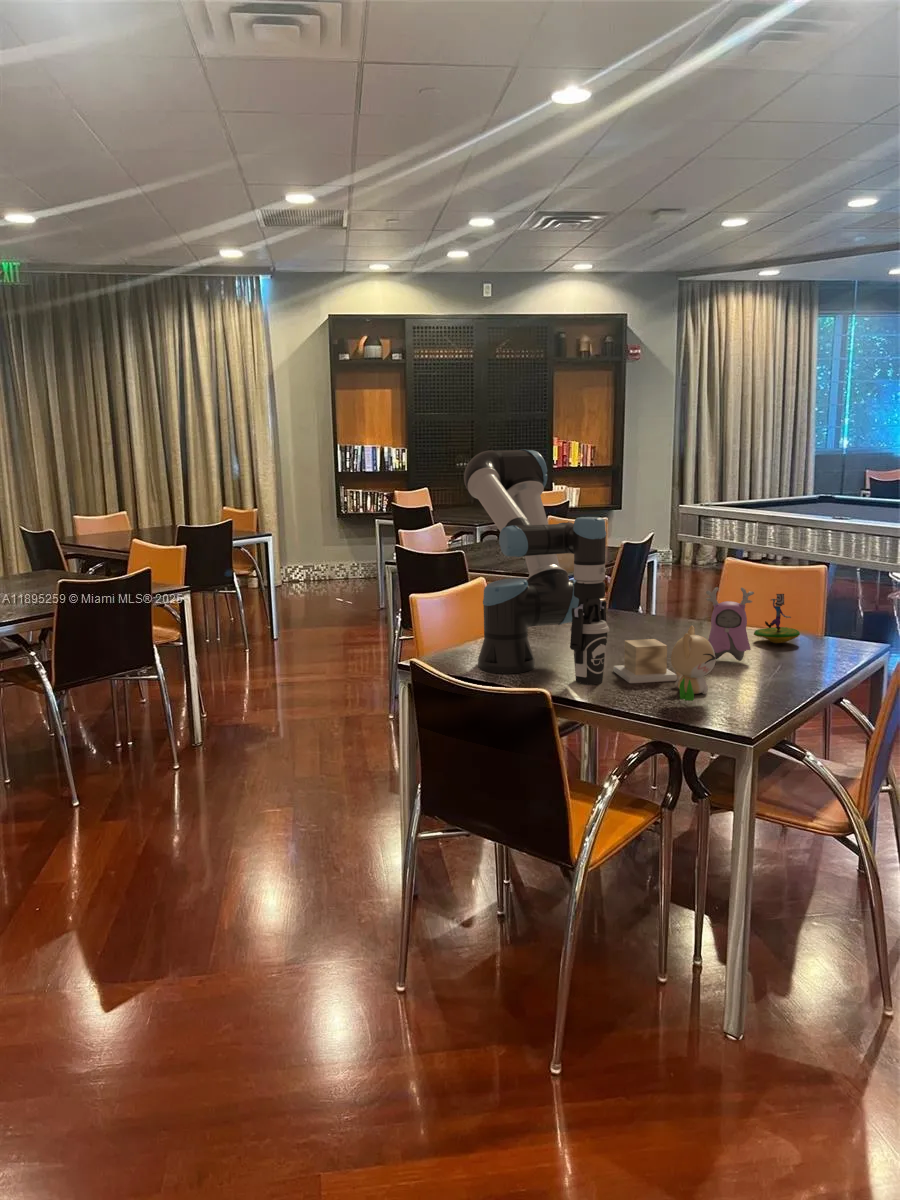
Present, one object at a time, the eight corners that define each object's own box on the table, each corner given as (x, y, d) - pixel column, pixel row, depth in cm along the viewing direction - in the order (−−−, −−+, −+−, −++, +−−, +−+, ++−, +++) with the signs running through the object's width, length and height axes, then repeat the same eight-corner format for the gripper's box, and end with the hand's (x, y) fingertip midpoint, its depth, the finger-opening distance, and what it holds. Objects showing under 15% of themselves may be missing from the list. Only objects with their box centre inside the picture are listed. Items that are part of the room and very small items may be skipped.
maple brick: (635, 674, 201) (635, 647, 200) (624, 667, 209) (624, 640, 208) (666, 673, 202) (667, 645, 201) (654, 665, 210) (654, 638, 209)
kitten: (711, 703, 181) (713, 637, 179) (665, 699, 185) (666, 634, 183) (718, 686, 195) (720, 625, 193) (675, 683, 199) (676, 622, 197)
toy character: (703, 663, 217) (705, 589, 214) (705, 654, 227) (707, 583, 224) (751, 666, 213) (754, 590, 210) (751, 657, 223) (754, 584, 219)
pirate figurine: (751, 637, 248) (753, 588, 246) (796, 638, 245) (798, 589, 242) (755, 647, 235) (757, 595, 233) (802, 648, 232) (805, 596, 229)
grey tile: (629, 683, 200) (629, 677, 199) (613, 671, 211) (613, 665, 211) (676, 680, 201) (676, 674, 201) (657, 668, 213) (658, 663, 213)
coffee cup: (606, 676, 207) (607, 618, 204) (610, 686, 197) (611, 625, 195) (568, 676, 207) (569, 618, 205) (570, 686, 198) (570, 625, 196)
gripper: (583, 587, 188) (582, 684, 192) (622, 577, 204) (621, 666, 208) (554, 585, 192) (554, 679, 196) (595, 575, 208) (594, 662, 212)
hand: (589, 672), depth 202 cm, fingers closed on coffee cup, 8 cm apart
